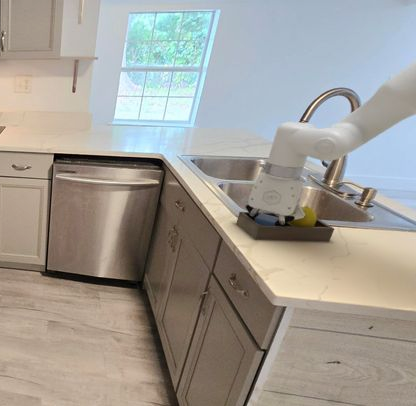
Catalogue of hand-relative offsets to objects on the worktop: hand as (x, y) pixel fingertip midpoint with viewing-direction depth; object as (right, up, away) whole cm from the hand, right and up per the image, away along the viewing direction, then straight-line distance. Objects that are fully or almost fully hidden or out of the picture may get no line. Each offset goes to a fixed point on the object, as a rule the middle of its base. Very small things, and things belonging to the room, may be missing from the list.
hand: (263, 230), depth 103 cm
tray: (+4, -1, 0) cm, 4 cm away
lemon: (+9, 0, -1) cm, 9 cm away
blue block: (0, 0, 0) cm, 0 cm away
